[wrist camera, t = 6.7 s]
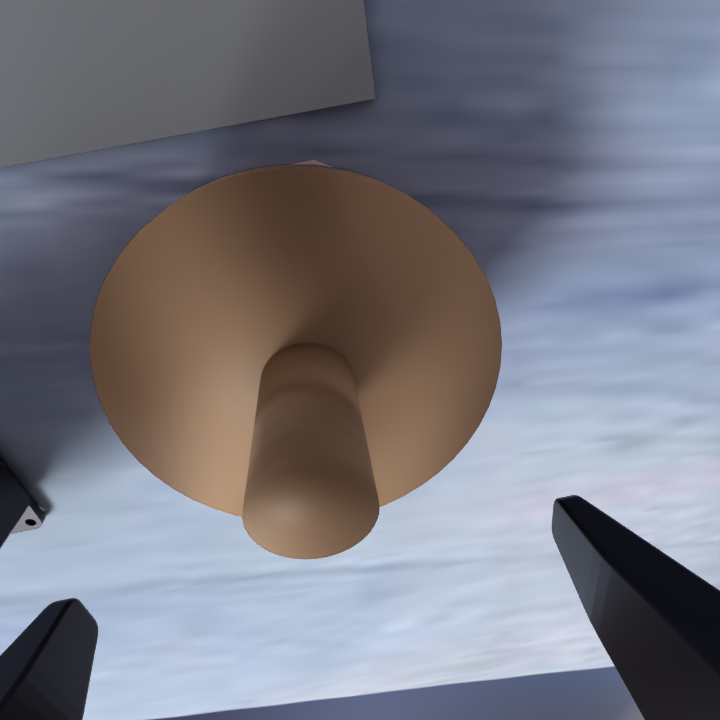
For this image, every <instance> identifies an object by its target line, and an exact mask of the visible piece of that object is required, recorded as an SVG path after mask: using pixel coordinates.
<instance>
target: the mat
mask: <svg viewBox="0 0 720 720" xmlns="http://www.w3.org/2000/svg"><path fill="white" fill-rule="evenodd" d="M372 99H376V97H375V88H374V80H373V72H372V64H371V56H370V47H369V39H368V31H367V23H366V15H365V6H364V0H0V168H4V167H10V166H15V165H20V164H26V163H31V162H37V161H42V160H47V159H53V158H58V157H64V156H69V155H74V154H80V153H85V152H91V151H96V150H101V149H107V148H112V147H118V146H123V145H128V144H134V143H139V142H145V141H150V140H155V139H161V138H166V137H172V136H177V135H182V134H188V133H193V132H199V131H204V130H209V129H215V128H220V127H226V126H231V125H236V124H242V123H247V122H253V121H258V120H264V119H269V118H274V117H280V116H285V115H291V114H296V113H301V112H307V111H312V110H318V109H323V108H328V107H334V106H339V105H345V104H350V103H355V102H361V101H366V100H372Z"/></svg>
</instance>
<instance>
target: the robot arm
mask: <svg viewBox="0 0 720 720" xmlns="http://www.w3.org/2000/svg"><path fill="white" fill-rule="evenodd" d="M44 520H45V515H44V513H43V512H42V511H41V509H40V508H39V507H38V505H37V504H36V503H35V501H34V500H33V499H32V497H31V496H30V495H29V493H28V492H27V491H26V489H25V488H24V487H23V485H22V484H21V483H20V481H19V480H18V479H17V477H16V476H15V475H14V473H13V472H12V471H11V469H10V468H9V467H8V465H7V464H6V463H5V461H4V460H3V459H2V457H1V456H0V548H1V547H2V545H3V544H4V542H5V541H6V539H7V538H8V536H9V535H10V534H13V533H18V532H23V531H28V530H33V529H37V528H39V527H40V526H41V525H42V523H43V522H44ZM552 533H553V537H554V540H555V542H556V544H557V547H558V549H559V551H560V554H561V556H562V558H563V561H564V563H565V565H566V567H567V570H568V572H569V574H570V577H571V579H572V581H573V583H574V586H575V588H576V590H577V593H578V595H579V597H580V600H581V602H582V604H583V606H584V609H585V611H586V613H587V615H588V617H589V620H590V622H591V624H592V625H593V627H594V629H595V631H596V633H597V635H598V637H599V639H600V640H601V642H602V644H603V646H604V647H605V649H606V651H607V653H608V655H609V656H610V658H611V660H612V662H613V664H614V665H615V667H616V669H617V671H618V672H619V674H620V676H621V678H622V680H623V681H624V683H625V685H626V687H627V688H628V690H629V692H630V693H631V696H632V698H633V699H634V701H635V703H636V705H637V707H638V708H639V710H640V712H641V714H642V715H643V717H644V719H645V720H720V590H718V589H717V588H715V587H714V586H712V585H711V584H709V583H708V582H706V581H705V580H703V579H702V578H700V577H699V576H697V575H696V574H694V573H693V572H691V571H690V570H688V569H687V568H685V567H684V566H683V565H681V564H680V563H678V562H677V561H675V560H674V559H672V558H671V557H669V556H668V555H666V554H665V553H663V552H662V551H660V550H659V549H657V548H656V547H654V546H653V545H651V544H650V543H648V542H647V541H645V540H644V539H642V538H641V537H639V536H638V535H636V534H635V533H633V532H632V531H631V530H629V529H628V528H626V527H625V526H623V525H622V524H620V523H619V522H617V521H616V520H614V519H613V518H611V517H610V516H608V515H607V514H605V513H604V512H602V511H601V510H599V509H598V508H596V507H595V506H593V505H592V504H590V503H589V502H587V501H586V500H584V499H583V498H581V497H579V496H577V495H571V496H566V497H561V498H557V499H556V500H555V501H554V506H553V517H552ZM97 638H98V625H97V622H96V620H95V619H94V618H93V616H92V615H91V614H90V613H89V611H88V610H87V609H86V608H85V607H84V605H83V604H82V603H81V602H80V601H79V600H78V599H76V598H70V599H65V600H60V601H56V602H53V603H51V604H50V605H49V606H47V607H46V608H45V609H44V610H43V611H42V612H41V613H40V614H39V616H38V617H37V618H36V619H35V620H34V621H33V622H32V623H31V624H30V625H29V626H28V627H27V628H26V629H25V630H24V631H23V632H22V633H21V635H20V636H19V637H18V638H17V639H16V640H15V641H14V642H13V643H12V644H11V645H10V646H9V647H8V648H7V649H6V650H5V651H4V652H3V654H2V655H1V656H0V720H82V719H83V714H84V709H85V704H86V698H87V693H88V687H89V682H90V676H91V671H92V665H93V660H94V654H95V649H96V643H97Z"/></svg>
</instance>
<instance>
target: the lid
mask: <svg viewBox="0 0 720 720" xmlns="http://www.w3.org/2000/svg"><path fill="white" fill-rule="evenodd" d="M501 349H502V340H501V327H500V319H499V315H498V311H497V306H496V302H495V298H494V296H493V293H492V291H491V288H490V286H489V283H488V281H487V278H486V276H485V274H484V272H483V271H482V269H481V267H480V266H479V264H478V262H477V261H476V259H475V257H474V256H473V254H472V253H471V251H470V250H469V249H468V248H467V247H466V245H465V244H464V243H463V242H462V240H461V239H460V238H459V237H458V236H457V234H456V233H455V232H454V231H453V230H451V229H450V228H449V227H448V226H447V225H446V224H445V223H444V222H443V221H441V220H440V219H439V218H438V217H437V216H436V215H435V214H434V213H432V212H431V211H430V210H429V209H428V208H426V207H425V206H424V205H422V204H421V203H419V202H418V201H416V200H415V199H413V198H412V197H410V196H409V195H407V194H406V193H404V192H403V191H401V190H399V189H397V188H395V187H392V186H390V185H388V184H386V183H384V182H382V181H380V180H378V179H376V178H373V177H369V176H366V175H363V174H360V173H356V172H353V171H350V170H347V169H341V168H334V167H328V166H322V165H311V164H281V165H273V166H265V167H257V168H252V169H248V170H244V171H241V172H237V173H233V174H230V175H226V176H223V177H221V178H219V179H216V180H214V181H212V182H209V183H207V184H205V185H202V186H200V187H198V188H196V189H194V190H193V191H191V192H190V193H188V194H186V195H185V196H183V197H182V198H180V199H178V200H177V201H175V202H174V203H172V204H171V205H169V206H168V207H167V208H166V209H164V210H163V211H162V212H161V213H160V214H159V215H157V216H156V217H155V218H154V219H153V220H152V221H150V222H149V223H148V224H147V225H146V226H145V227H143V228H142V229H141V230H140V231H139V232H138V233H137V234H136V235H135V237H134V238H133V239H132V240H131V241H130V243H129V244H128V245H127V246H126V247H125V249H124V250H123V251H122V252H121V253H120V254H119V256H118V258H117V260H116V261H115V263H114V265H113V266H112V268H111V270H110V271H109V273H108V275H107V277H106V278H105V280H104V283H103V286H102V288H101V291H100V294H99V296H98V299H97V301H96V304H95V309H94V314H93V319H92V324H91V329H90V361H91V369H92V376H93V381H94V385H95V388H96V391H97V394H98V398H99V401H100V404H101V406H102V408H103V410H104V412H105V414H106V416H107V418H108V421H109V423H110V425H111V426H112V428H113V429H114V431H115V432H116V434H117V435H118V437H119V438H120V440H121V441H122V443H123V444H124V445H125V446H126V447H127V449H128V450H129V451H130V452H131V453H132V454H133V455H134V457H135V458H136V459H137V460H138V461H139V462H140V463H141V464H142V465H143V466H145V467H146V468H147V469H148V470H149V471H150V472H151V473H152V474H154V475H155V476H156V477H157V478H159V479H160V480H162V481H163V482H164V483H166V484H167V485H169V486H170V487H171V488H173V489H174V490H176V491H178V492H180V493H182V494H184V495H185V496H187V497H189V498H191V499H193V500H195V501H197V502H199V503H202V504H204V505H206V506H209V507H211V508H214V509H217V510H220V511H223V512H226V513H230V514H233V515H236V516H241V517H242V518H243V524H244V527H245V529H246V531H247V533H248V534H249V536H250V537H251V538H252V539H253V540H254V541H255V542H256V543H257V544H258V545H259V546H261V547H262V548H264V549H266V550H268V551H269V552H272V553H274V554H277V555H280V556H284V557H288V558H295V559H316V558H323V557H328V556H332V555H335V554H338V553H341V552H343V551H345V550H347V549H349V548H351V547H353V546H355V545H356V544H357V543H359V542H360V541H362V540H363V539H364V538H365V537H366V536H367V535H368V534H369V532H370V531H371V530H372V528H373V527H374V525H375V523H376V521H377V519H378V515H379V507H381V506H383V505H386V504H388V503H390V502H392V501H394V500H396V499H398V498H401V497H403V496H404V495H406V494H408V493H410V492H411V491H413V490H415V489H416V488H418V487H420V486H421V485H423V484H424V483H425V482H427V481H428V480H429V479H431V478H432V477H433V476H435V475H436V474H437V473H439V472H440V471H441V470H442V469H443V468H444V467H445V466H446V465H447V464H448V463H450V462H451V461H452V460H453V459H454V458H455V457H456V455H457V454H458V453H459V452H460V451H461V450H462V449H463V447H464V446H465V445H466V444H467V443H468V441H469V440H470V438H471V437H472V435H473V434H474V432H475V431H476V430H477V428H478V427H479V425H480V423H481V421H482V419H483V417H484V415H485V413H486V411H487V409H488V407H489V405H490V402H491V399H492V396H493V394H494V391H495V388H496V384H497V379H498V375H499V370H500V364H501Z"/></svg>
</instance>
